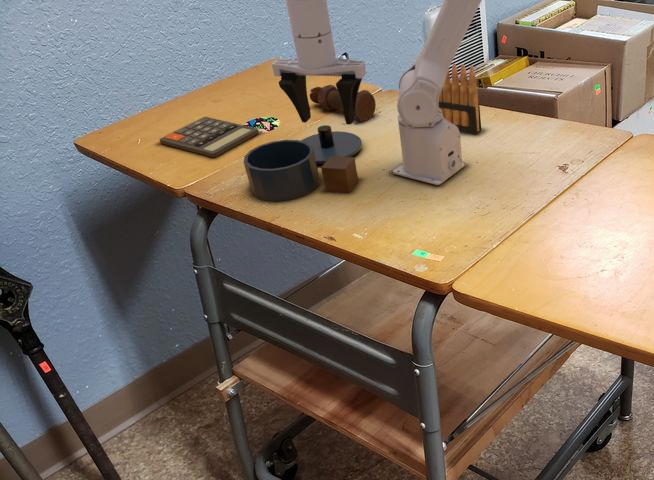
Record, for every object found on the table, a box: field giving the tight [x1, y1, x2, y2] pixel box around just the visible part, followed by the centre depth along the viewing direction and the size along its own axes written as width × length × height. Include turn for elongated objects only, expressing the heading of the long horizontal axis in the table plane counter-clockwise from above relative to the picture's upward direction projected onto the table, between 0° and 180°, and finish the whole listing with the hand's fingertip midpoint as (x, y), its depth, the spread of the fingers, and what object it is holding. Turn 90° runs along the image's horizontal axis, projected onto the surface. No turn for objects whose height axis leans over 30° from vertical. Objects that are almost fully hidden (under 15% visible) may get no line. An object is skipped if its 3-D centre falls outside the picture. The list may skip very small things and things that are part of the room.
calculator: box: [159, 116, 260, 158], centre depth 135 cm, size 12×1×15 cm
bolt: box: [309, 84, 377, 122], centre depth 140 cm, size 6×5×15 cm
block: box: [320, 156, 359, 194], centre depth 115 cm, size 4×4×4 cm
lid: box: [300, 124, 363, 165], centre depth 126 cm, size 12×12×4 cm
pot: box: [243, 139, 320, 202], centre depth 116 cm, size 11×11×5 cm
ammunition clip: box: [439, 62, 482, 135], centre depth 127 cm, size 11×2×12 cm, turn 60°
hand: (328, 120), depth 113 cm, fingers open, 7 cm apart
